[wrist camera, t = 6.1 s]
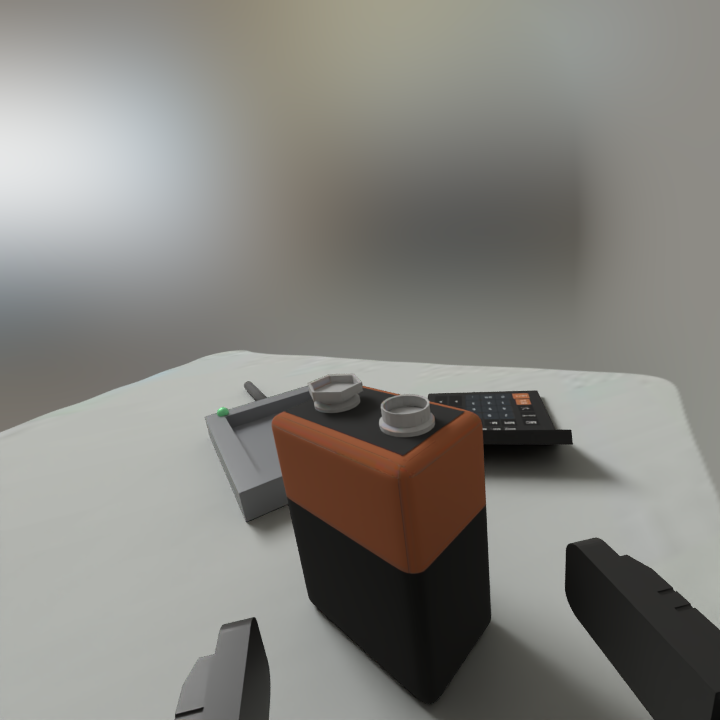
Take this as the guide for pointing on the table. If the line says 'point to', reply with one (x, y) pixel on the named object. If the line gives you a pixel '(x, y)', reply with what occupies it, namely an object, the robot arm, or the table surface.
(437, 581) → the battery
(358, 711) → the table surface
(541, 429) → the calculator
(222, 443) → the charging cradle
